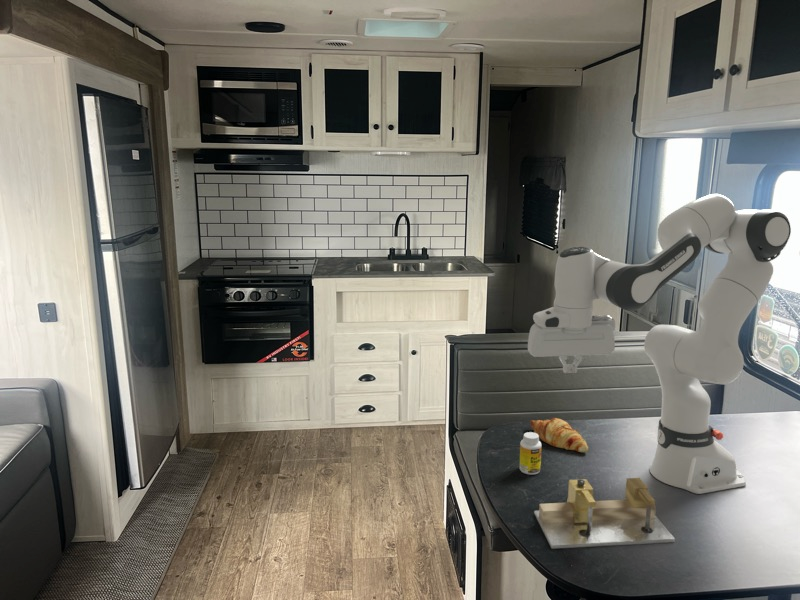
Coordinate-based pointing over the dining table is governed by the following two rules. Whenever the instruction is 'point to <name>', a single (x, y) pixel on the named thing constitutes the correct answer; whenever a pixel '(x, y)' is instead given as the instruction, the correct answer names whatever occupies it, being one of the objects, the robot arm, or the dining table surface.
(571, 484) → the sliding leg
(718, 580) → the dining table surface
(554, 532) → the flange plate
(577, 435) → the croissant
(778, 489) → the dining table surface
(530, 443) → the supplement bottle
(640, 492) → the trammel beam
